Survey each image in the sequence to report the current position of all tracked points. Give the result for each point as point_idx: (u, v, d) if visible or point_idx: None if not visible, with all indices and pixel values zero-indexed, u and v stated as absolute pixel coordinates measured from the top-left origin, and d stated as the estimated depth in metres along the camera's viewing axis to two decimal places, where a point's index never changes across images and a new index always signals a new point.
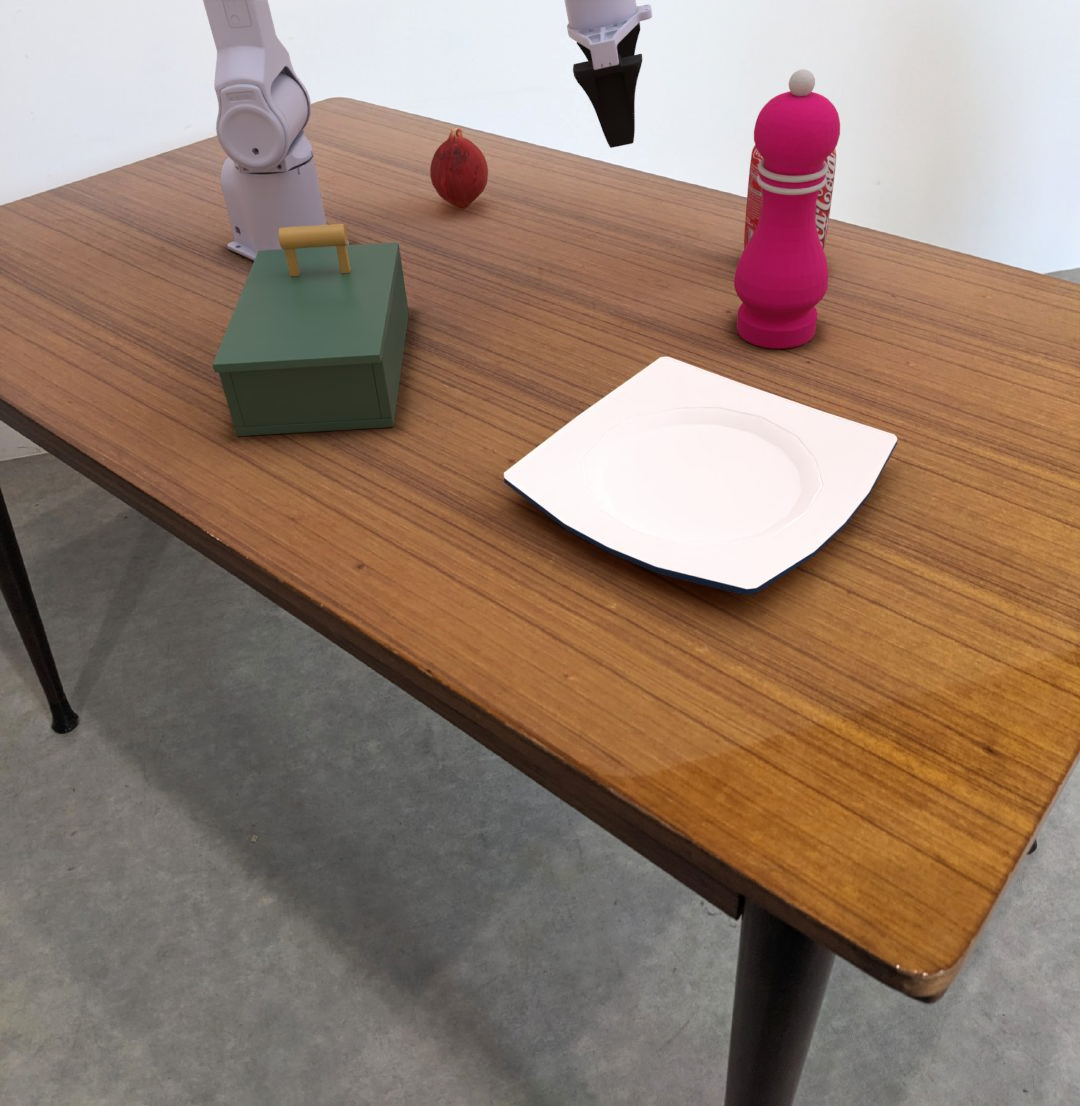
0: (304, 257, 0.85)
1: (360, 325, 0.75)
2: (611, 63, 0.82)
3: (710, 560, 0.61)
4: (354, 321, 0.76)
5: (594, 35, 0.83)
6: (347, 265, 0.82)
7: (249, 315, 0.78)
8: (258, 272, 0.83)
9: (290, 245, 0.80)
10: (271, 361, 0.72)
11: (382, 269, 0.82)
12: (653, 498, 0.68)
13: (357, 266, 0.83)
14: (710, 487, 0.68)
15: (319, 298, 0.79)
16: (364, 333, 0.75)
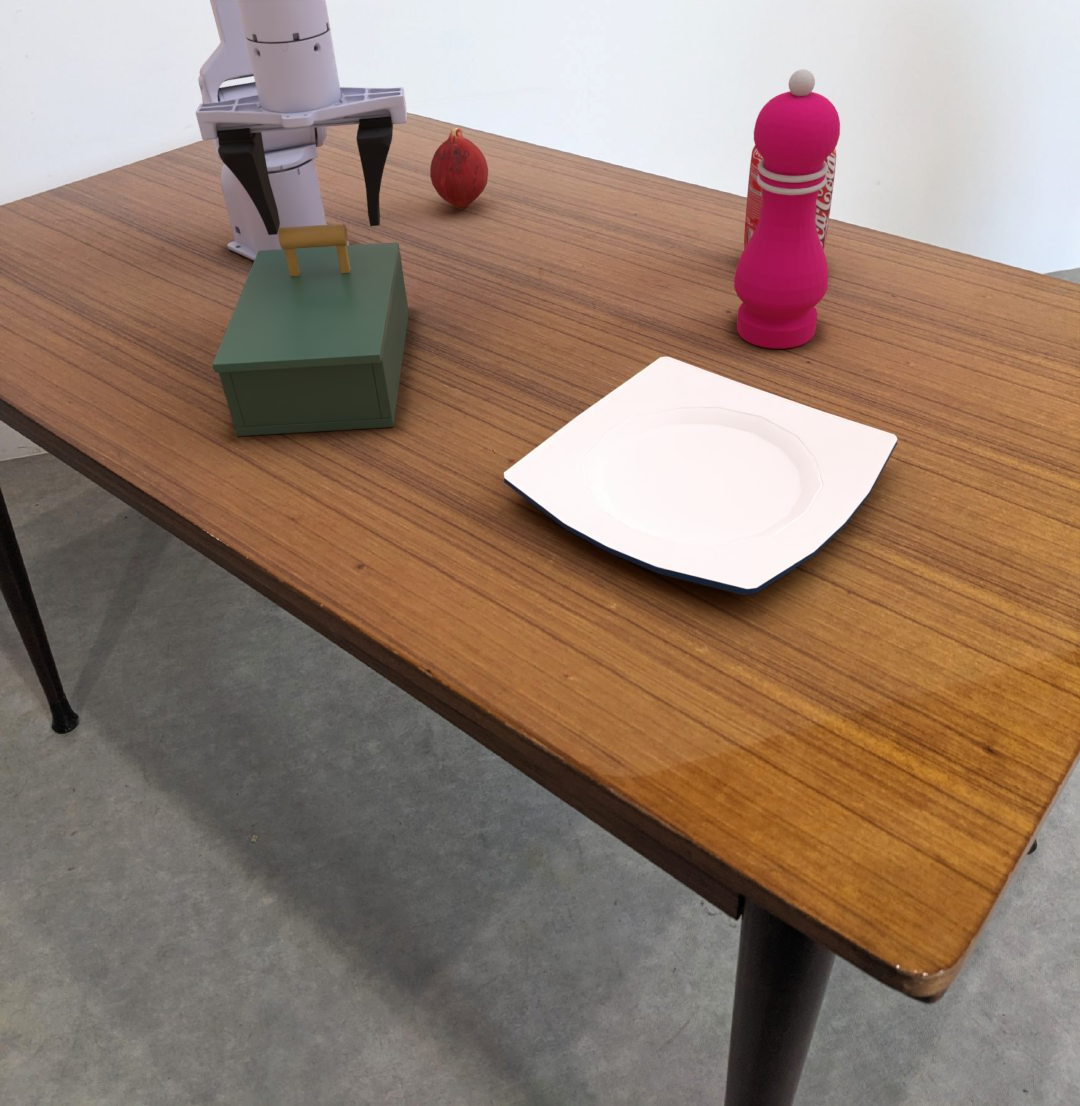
0: (304, 257, 0.85)
1: (360, 325, 0.75)
2: None
3: (710, 560, 0.61)
4: (354, 321, 0.76)
5: (235, 103, 0.74)
6: (347, 265, 0.82)
7: (249, 315, 0.78)
8: (258, 272, 0.83)
9: (290, 245, 0.80)
10: (271, 361, 0.72)
11: (382, 269, 0.82)
12: (653, 498, 0.68)
13: (357, 266, 0.83)
14: (710, 487, 0.68)
15: (319, 298, 0.79)
16: (364, 333, 0.75)
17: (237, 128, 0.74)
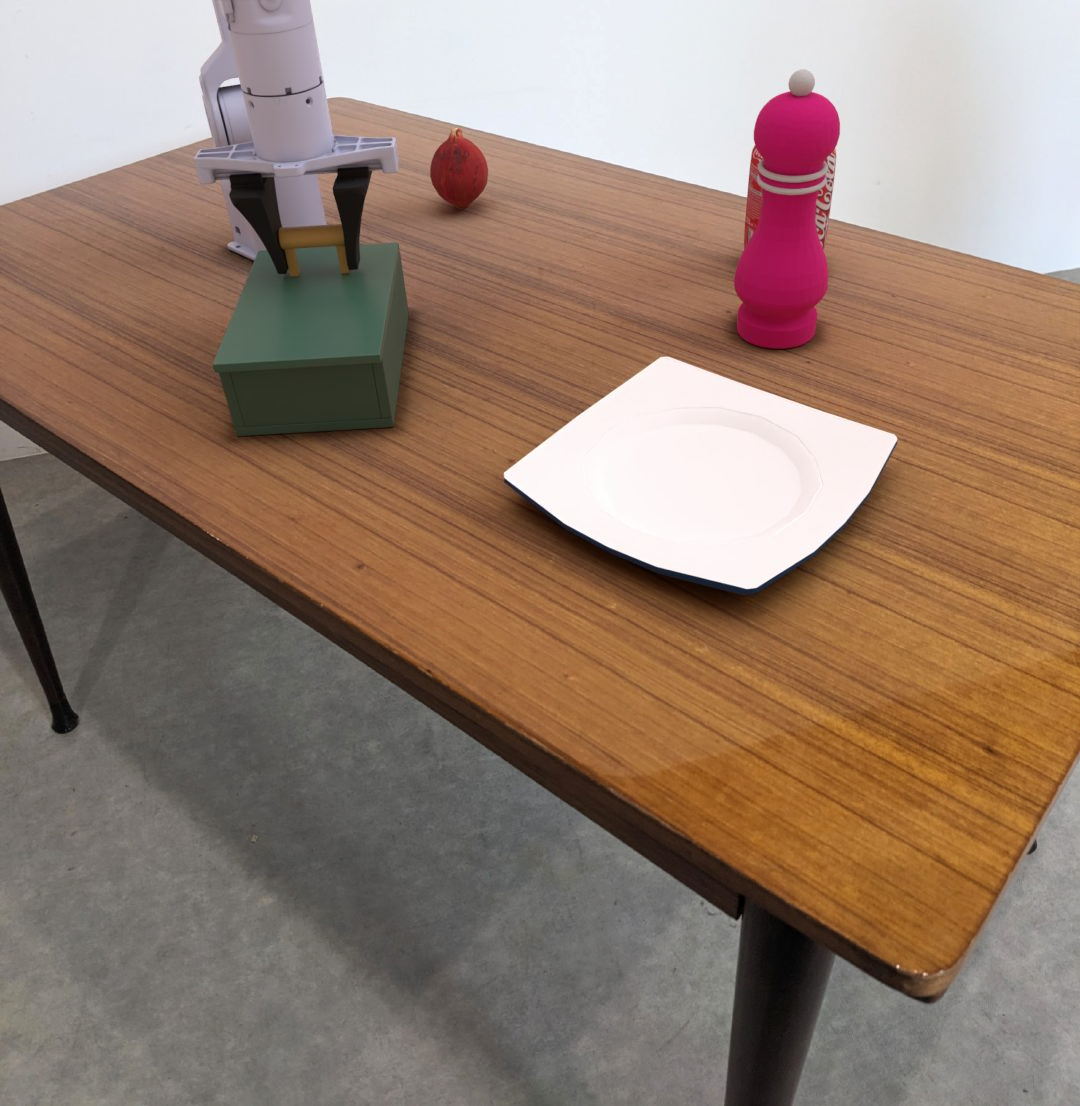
0: (304, 257, 0.85)
1: (360, 325, 0.75)
2: None
3: (710, 560, 0.61)
4: (354, 321, 0.76)
5: (233, 149, 0.77)
6: (347, 265, 0.82)
7: (249, 315, 0.78)
8: (258, 272, 0.83)
9: (290, 245, 0.80)
10: (271, 362, 0.72)
11: (382, 269, 0.82)
12: (653, 498, 0.68)
13: None
14: (710, 487, 0.68)
15: (319, 298, 0.79)
16: (364, 333, 0.75)
17: (249, 173, 0.77)
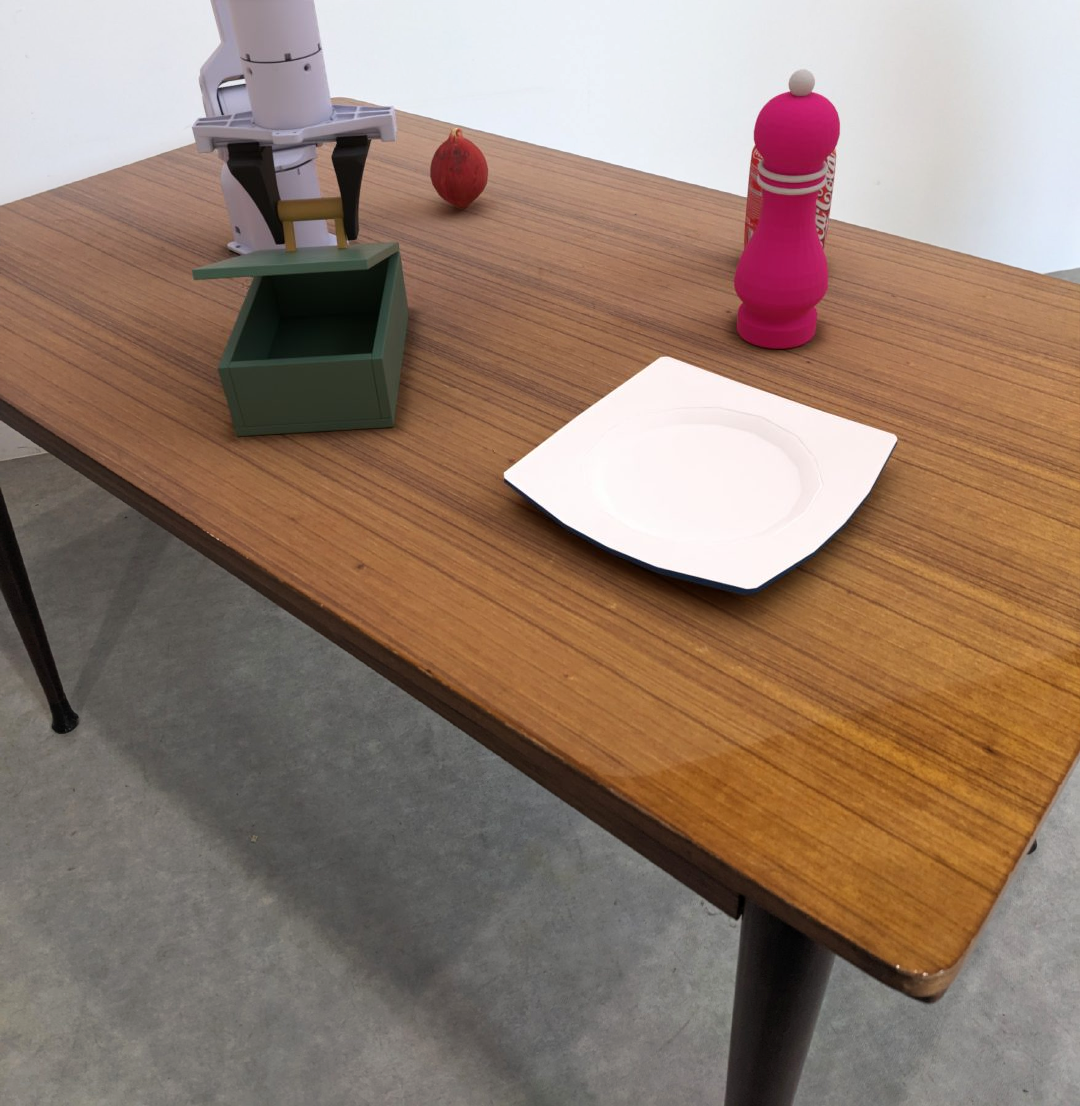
0: (303, 248, 0.85)
1: (350, 255, 0.73)
2: None
3: (710, 560, 0.61)
4: (345, 255, 0.74)
5: None
6: (344, 239, 0.81)
7: (239, 259, 0.76)
8: (255, 253, 0.82)
9: (288, 215, 0.80)
10: (253, 266, 0.69)
11: (379, 246, 0.82)
12: (653, 498, 0.68)
13: None
14: (710, 487, 0.68)
15: (312, 253, 0.77)
16: (353, 256, 0.72)
17: (246, 141, 0.77)
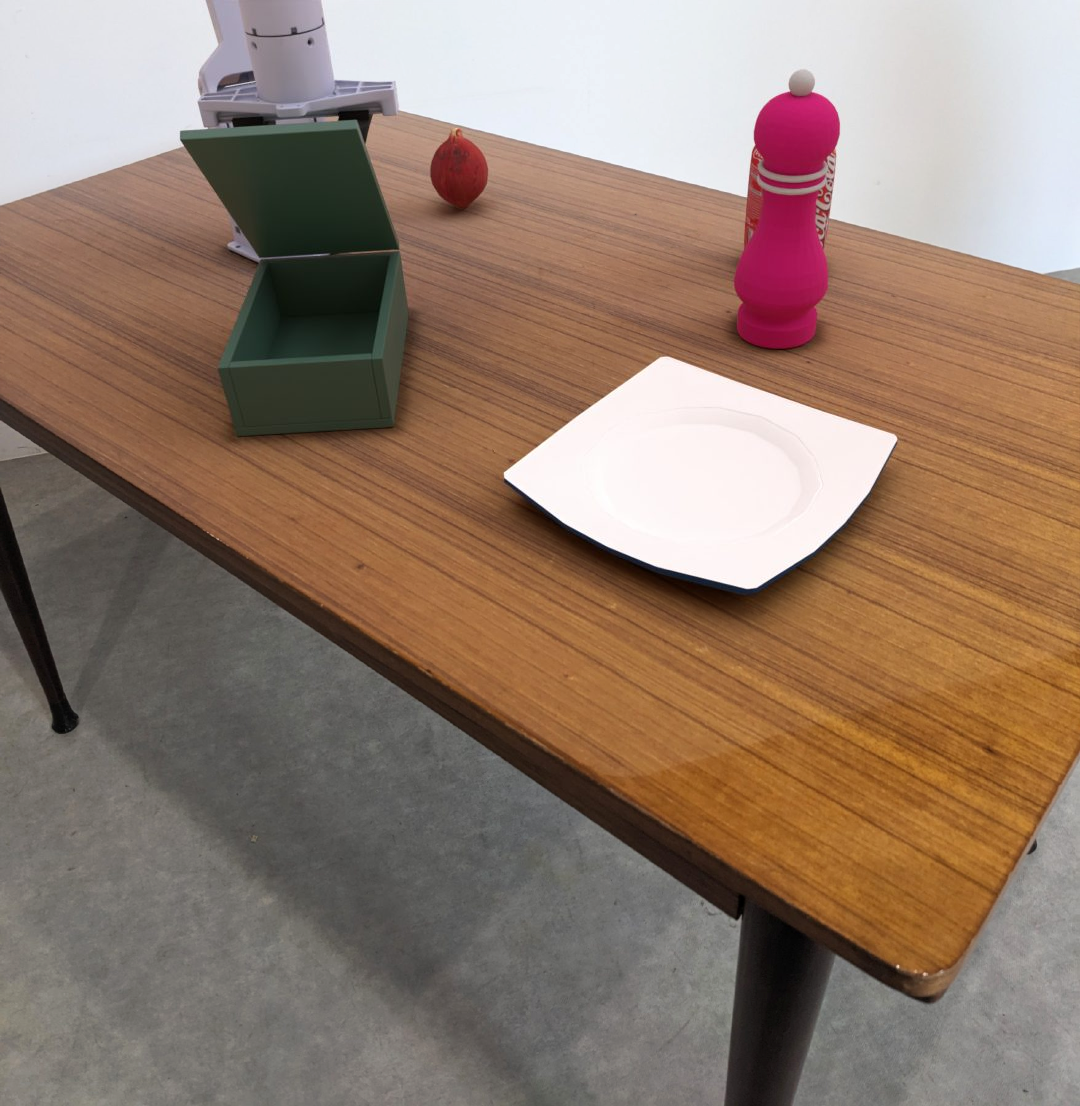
0: None
1: None
2: None
3: (710, 560, 0.61)
4: None
5: (236, 93, 0.78)
6: None
7: None
8: None
9: None
10: (242, 127, 0.68)
11: None
12: (653, 498, 0.68)
13: None
14: (710, 487, 0.68)
15: None
16: None
17: (251, 116, 0.78)
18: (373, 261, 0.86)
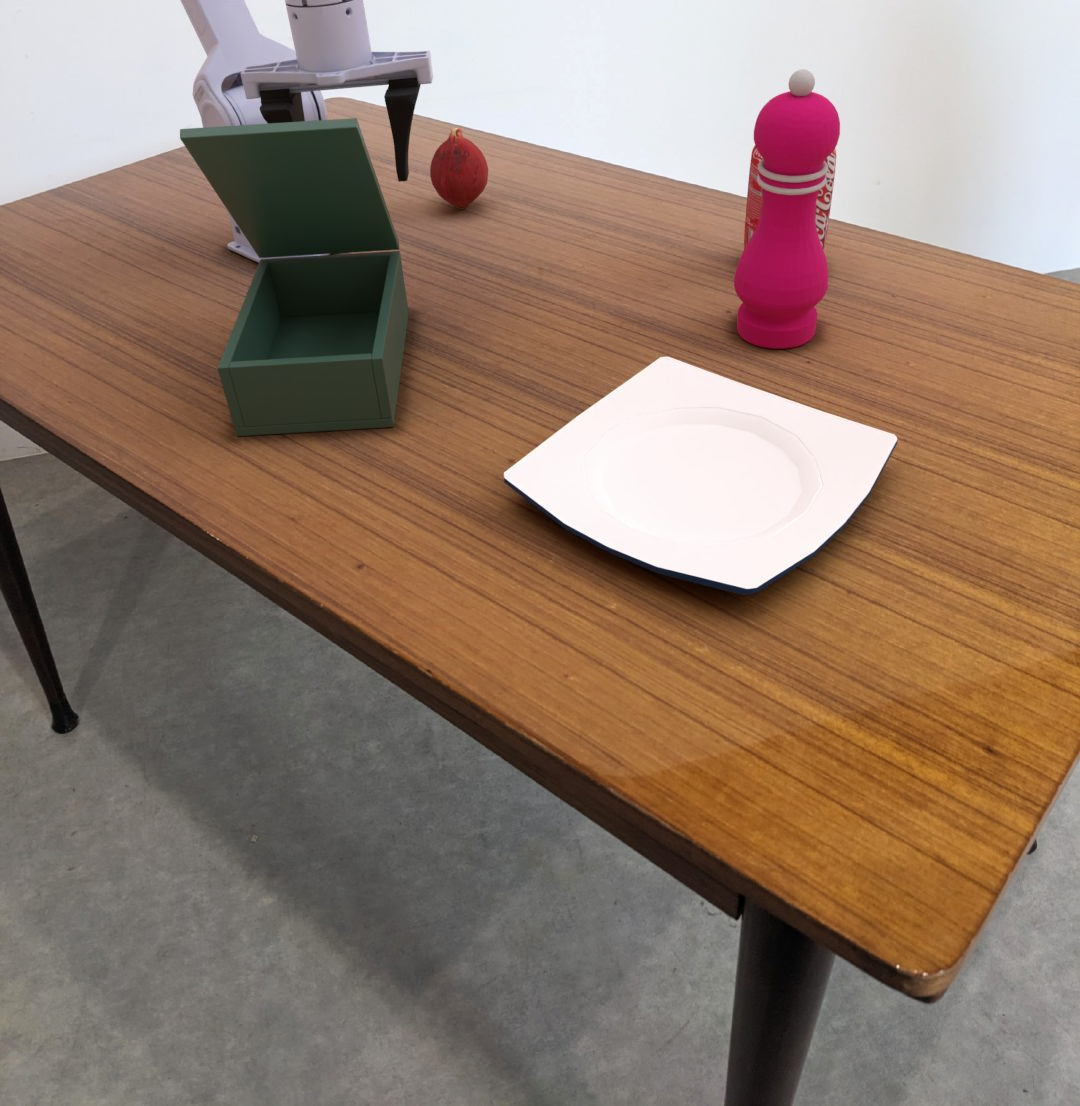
0: None
1: None
2: None
3: (710, 560, 0.61)
4: None
5: (277, 65, 0.81)
6: None
7: None
8: None
9: None
10: (242, 125, 0.68)
11: None
12: (653, 498, 0.68)
13: None
14: (710, 487, 0.68)
15: None
16: None
17: (278, 88, 0.81)
18: (373, 261, 0.86)
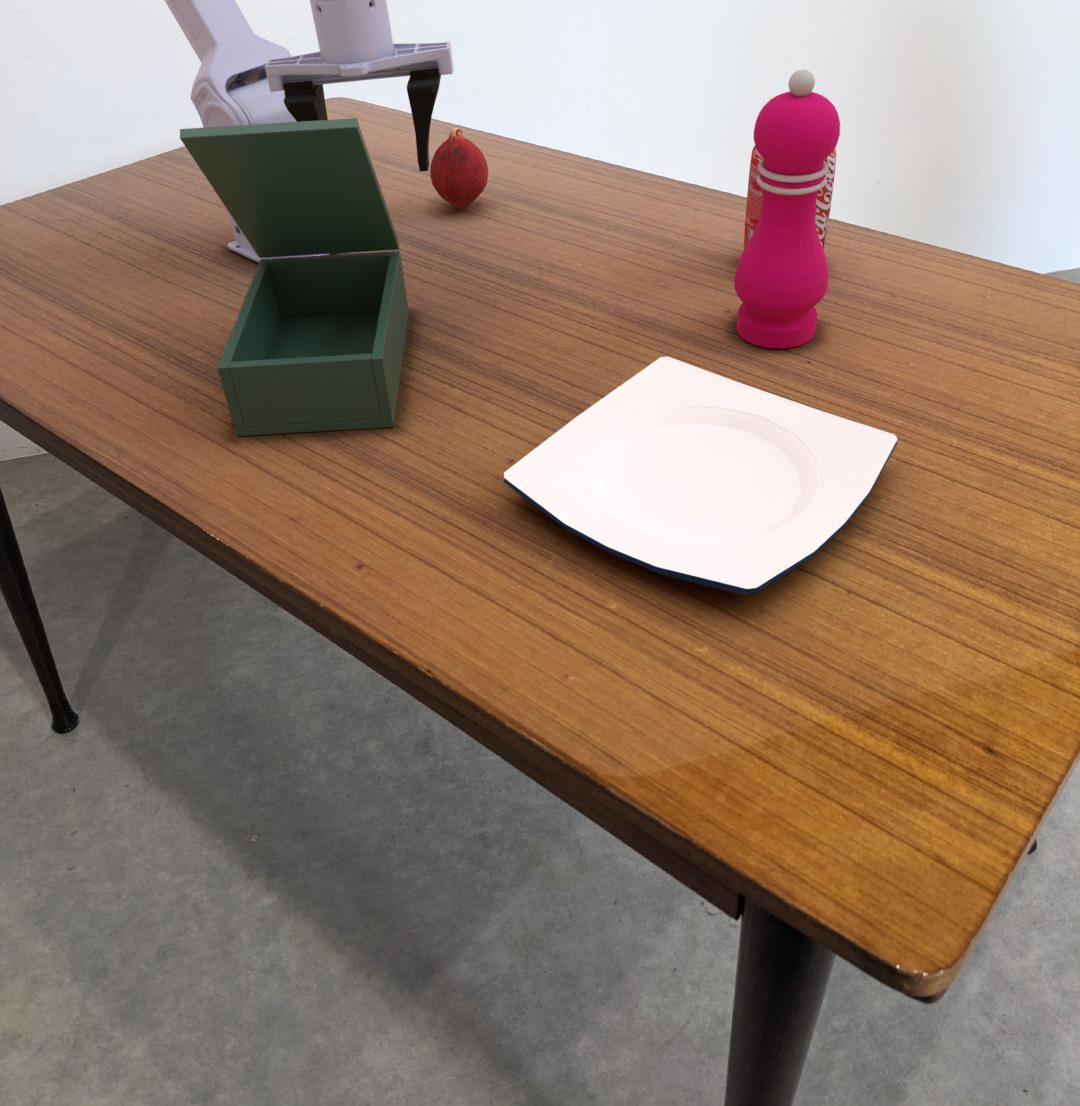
0: None
1: None
2: None
3: (710, 560, 0.61)
4: None
5: (300, 58, 0.83)
6: None
7: None
8: None
9: None
10: (242, 125, 0.68)
11: None
12: (653, 498, 0.68)
13: None
14: (710, 487, 0.68)
15: None
16: None
17: (301, 81, 0.83)
18: (373, 261, 0.86)
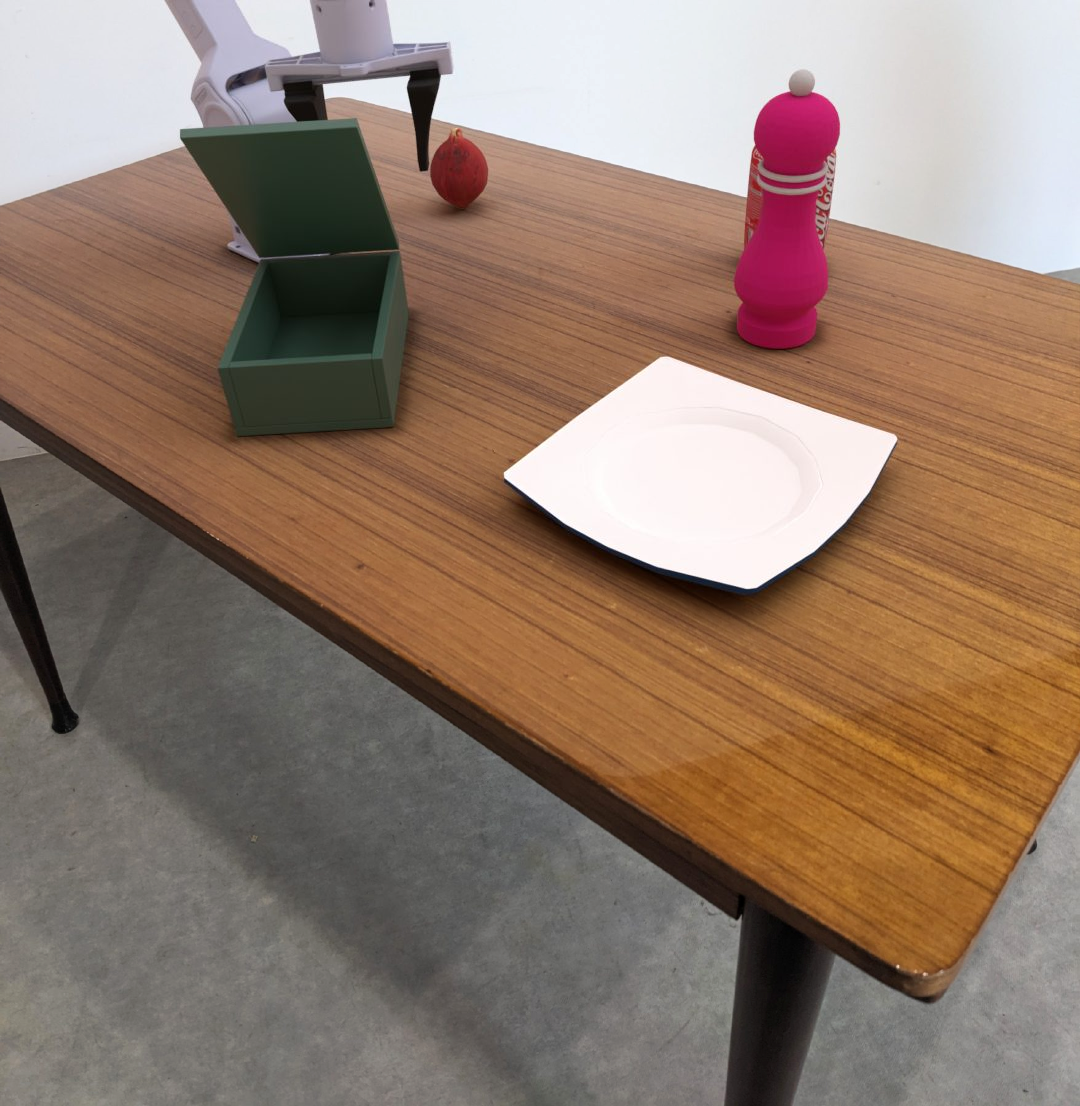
0: None
1: None
2: None
3: (710, 560, 0.61)
4: None
5: (300, 58, 0.83)
6: None
7: None
8: None
9: None
10: (242, 125, 0.68)
11: None
12: (653, 498, 0.68)
13: None
14: (710, 487, 0.68)
15: None
16: None
17: (301, 81, 0.83)
18: (373, 261, 0.86)
